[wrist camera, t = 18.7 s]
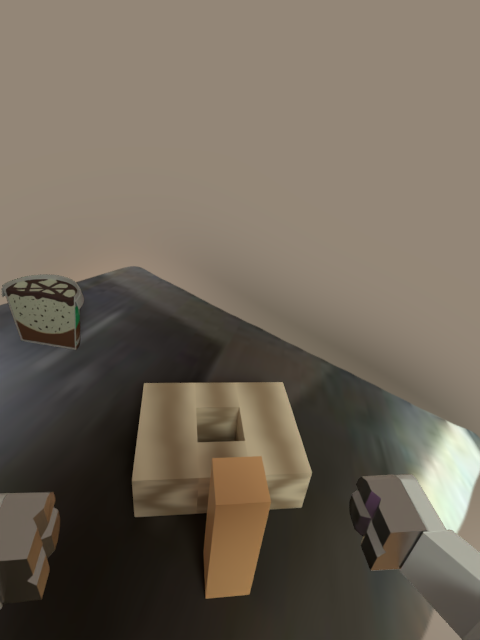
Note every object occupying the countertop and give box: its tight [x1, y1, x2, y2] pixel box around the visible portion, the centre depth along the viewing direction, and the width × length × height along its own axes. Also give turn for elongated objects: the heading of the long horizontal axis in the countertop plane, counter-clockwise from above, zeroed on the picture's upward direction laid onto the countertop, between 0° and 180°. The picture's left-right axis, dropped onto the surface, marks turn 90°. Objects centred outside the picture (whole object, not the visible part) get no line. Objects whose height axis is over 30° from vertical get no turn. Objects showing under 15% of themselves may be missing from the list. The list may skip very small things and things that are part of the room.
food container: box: [2, 275, 84, 350], centre depth 63 cm, size 12×6×10 cm, turn 82°
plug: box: [203, 456, 271, 599], centre depth 33 cm, size 4×4×14 cm
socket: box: [132, 382, 312, 517], centre depth 46 cm, size 18×14×6 cm
